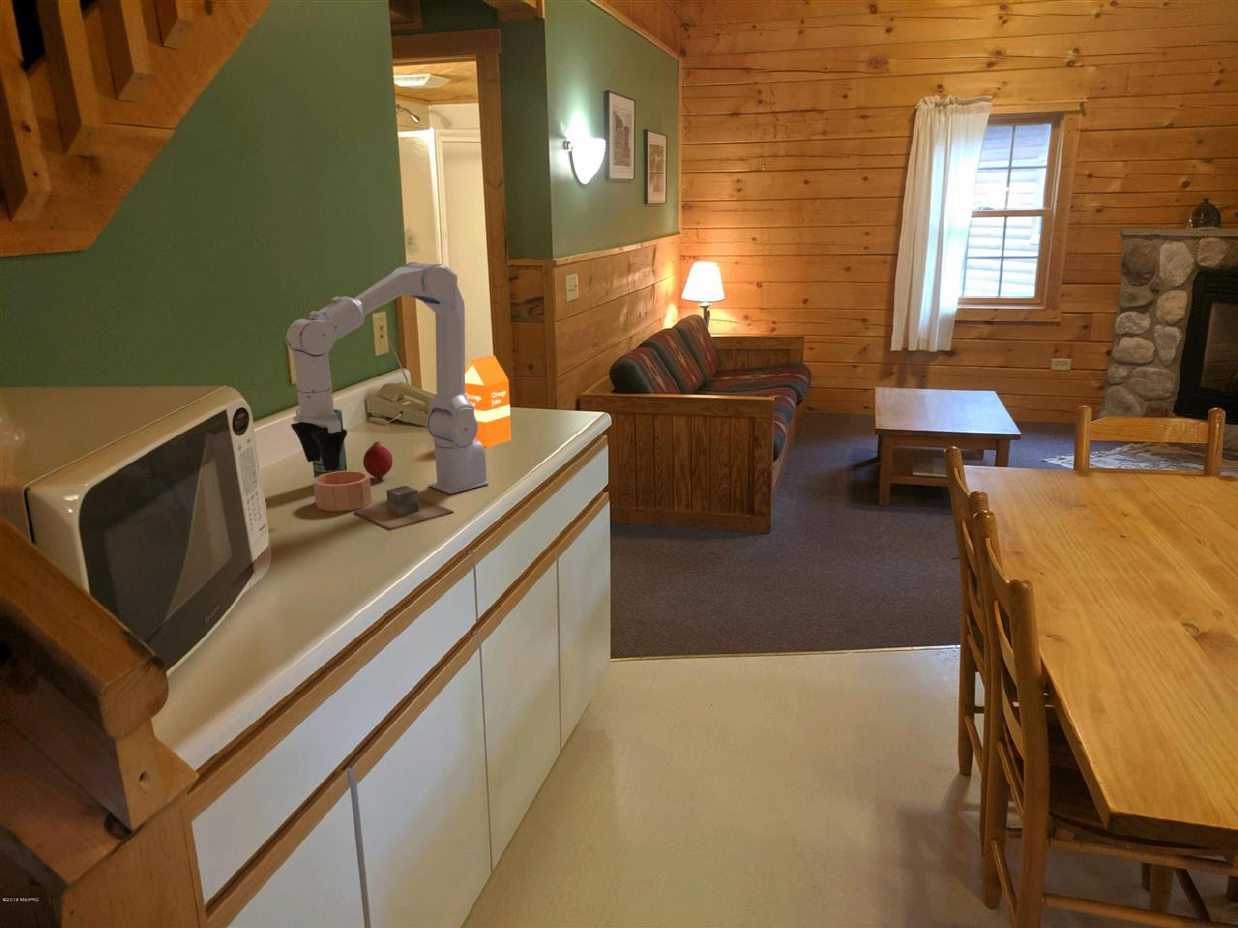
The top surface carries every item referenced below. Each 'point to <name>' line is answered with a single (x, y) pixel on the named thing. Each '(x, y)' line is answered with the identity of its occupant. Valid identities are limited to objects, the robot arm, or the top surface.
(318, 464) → the can
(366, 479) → the pot
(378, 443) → the onion
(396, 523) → the lid
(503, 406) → the orange juice
